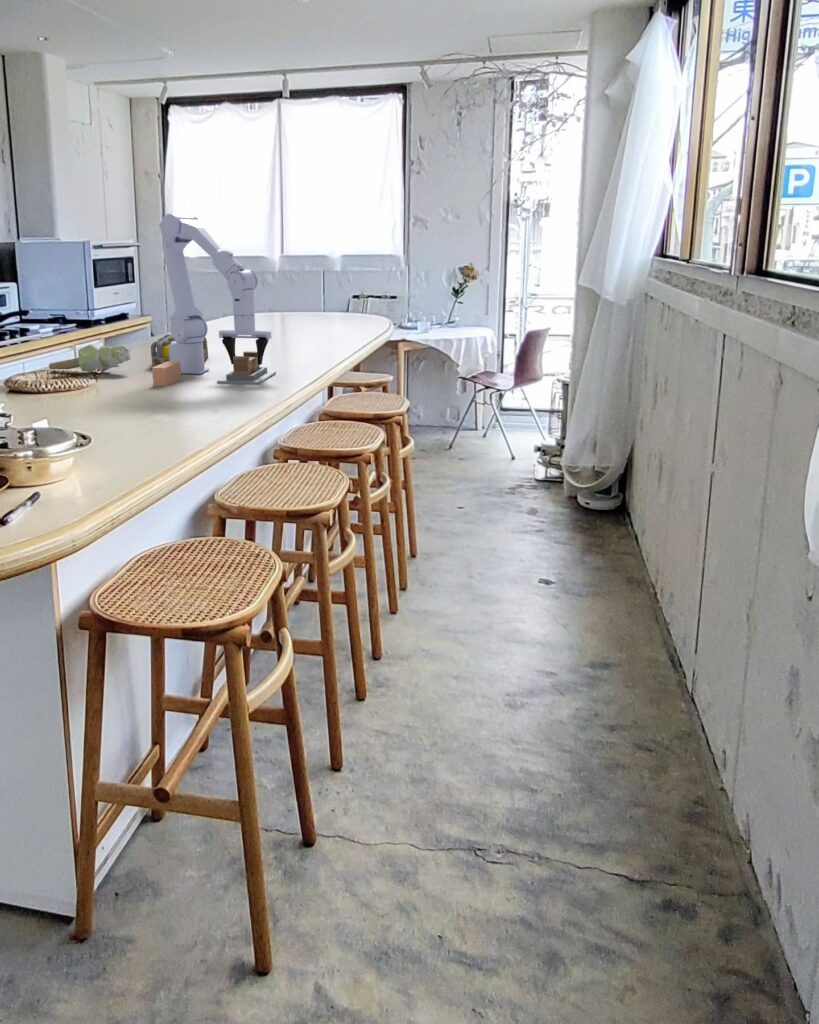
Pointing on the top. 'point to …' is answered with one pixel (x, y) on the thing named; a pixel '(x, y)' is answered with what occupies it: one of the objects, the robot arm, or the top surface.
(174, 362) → the salmon pink cuboid
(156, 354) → the cage light
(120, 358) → the decorative object
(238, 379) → the jig
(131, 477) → the top surface
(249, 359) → the tan notched block
